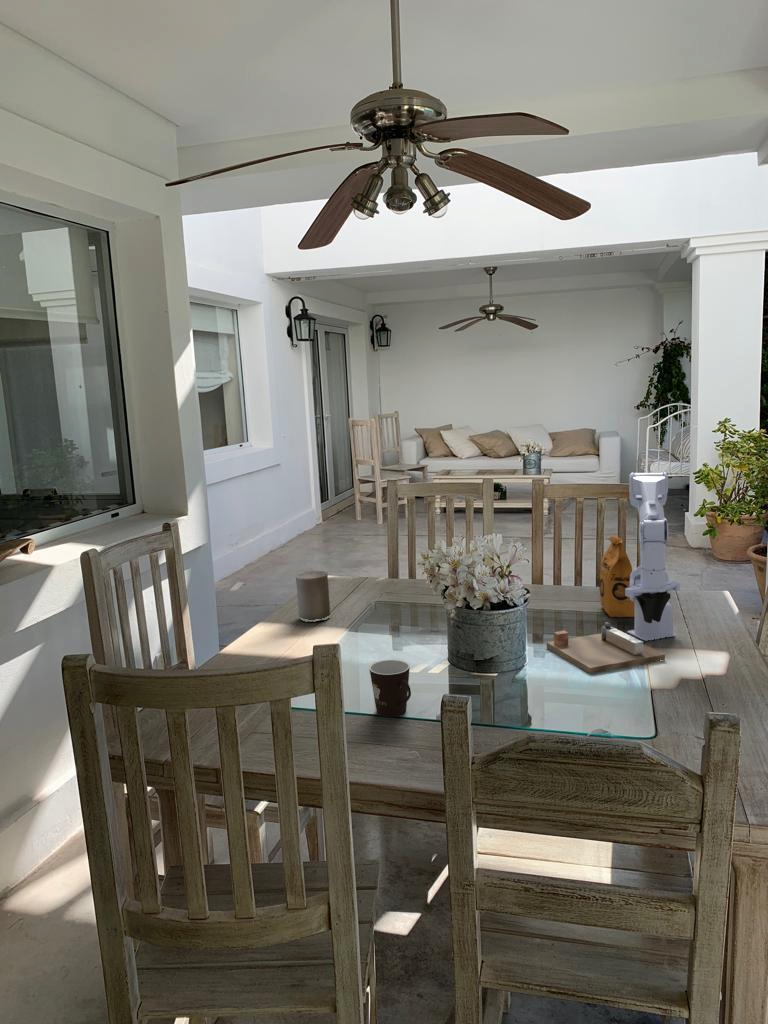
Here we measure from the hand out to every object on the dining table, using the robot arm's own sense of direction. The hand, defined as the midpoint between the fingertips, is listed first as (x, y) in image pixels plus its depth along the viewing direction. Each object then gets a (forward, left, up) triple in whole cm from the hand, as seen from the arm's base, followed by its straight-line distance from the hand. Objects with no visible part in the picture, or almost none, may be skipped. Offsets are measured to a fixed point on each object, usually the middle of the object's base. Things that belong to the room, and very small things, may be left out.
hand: (652, 621), depth 195 cm
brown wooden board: (+11, -5, -8) cm, 14 cm away
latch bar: (+6, -4, -7) cm, 10 cm away
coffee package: (-13, -33, -9) cm, 36 cm away
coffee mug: (+71, +7, -9) cm, 72 cm away
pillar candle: (+70, -68, -9) cm, 98 cm away
